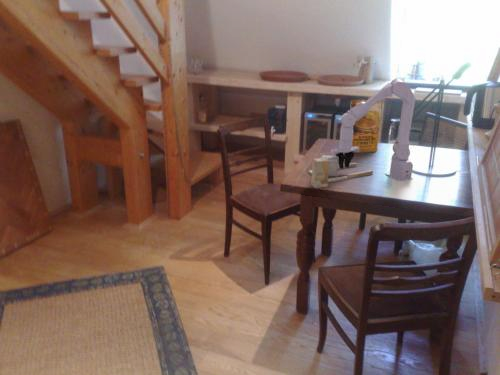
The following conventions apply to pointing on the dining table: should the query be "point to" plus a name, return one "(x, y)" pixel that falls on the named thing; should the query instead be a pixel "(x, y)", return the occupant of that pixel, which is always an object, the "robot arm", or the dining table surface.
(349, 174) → the pair of tan bars
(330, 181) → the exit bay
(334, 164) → the medicine box
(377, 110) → the pancake mix bag
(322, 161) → the skincare box
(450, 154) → the dining table surface
